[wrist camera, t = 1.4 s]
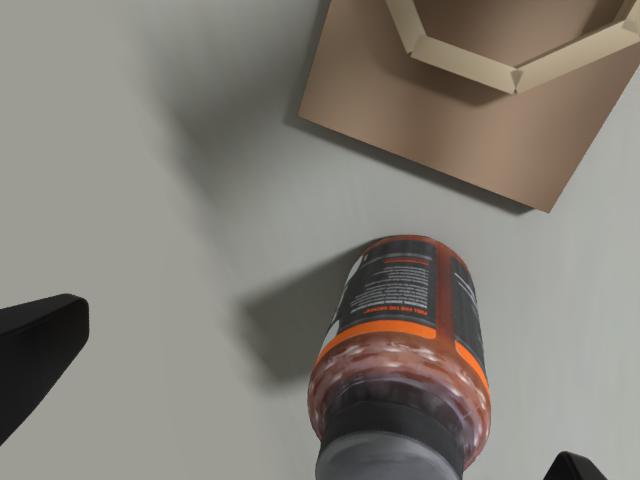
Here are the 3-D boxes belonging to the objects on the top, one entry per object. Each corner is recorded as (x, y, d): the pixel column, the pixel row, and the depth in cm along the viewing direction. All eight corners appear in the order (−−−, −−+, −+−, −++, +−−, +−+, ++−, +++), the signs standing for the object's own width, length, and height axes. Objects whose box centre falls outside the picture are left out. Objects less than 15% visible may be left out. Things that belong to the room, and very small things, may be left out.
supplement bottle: (325, 267, 23) (235, 445, 13) (429, 206, 21) (418, 365, 10) (393, 355, 24) (359, 582, 14) (499, 307, 22) (549, 540, 12)
